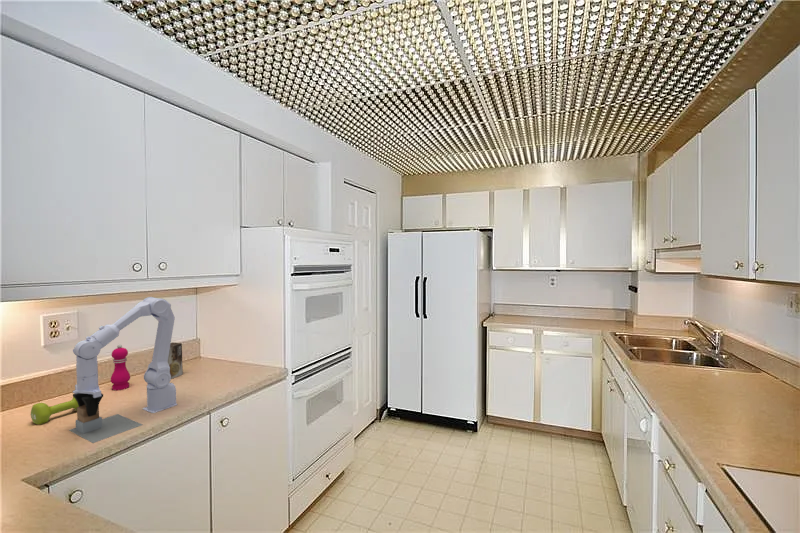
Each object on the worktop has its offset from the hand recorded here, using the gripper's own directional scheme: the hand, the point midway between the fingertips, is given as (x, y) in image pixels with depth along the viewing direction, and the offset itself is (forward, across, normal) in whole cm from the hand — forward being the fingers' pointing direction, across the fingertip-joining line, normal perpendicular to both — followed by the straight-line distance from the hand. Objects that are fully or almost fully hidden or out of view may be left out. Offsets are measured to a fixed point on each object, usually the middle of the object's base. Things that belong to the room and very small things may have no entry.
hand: (88, 413), depth 132 cm
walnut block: (+2, 0, 0) cm, 2 cm away
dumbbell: (+6, -22, 0) cm, 23 cm away
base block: (+5, 0, 0) cm, 5 cm away
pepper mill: (+6, -36, +26) cm, 45 cm away
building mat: (+6, +4, +4) cm, 8 cm away
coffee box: (+6, -32, +46) cm, 56 cm away
